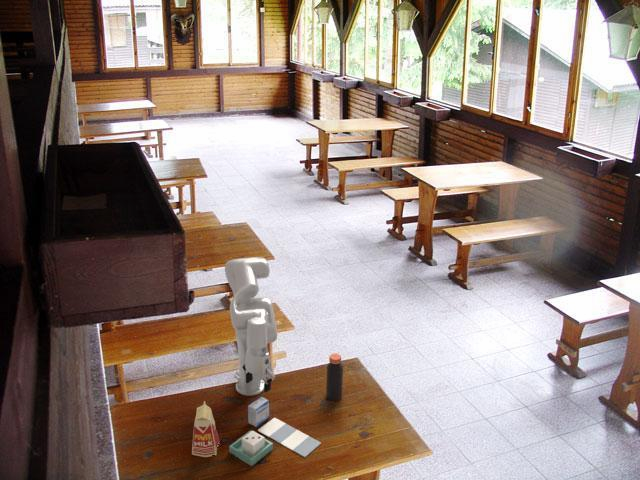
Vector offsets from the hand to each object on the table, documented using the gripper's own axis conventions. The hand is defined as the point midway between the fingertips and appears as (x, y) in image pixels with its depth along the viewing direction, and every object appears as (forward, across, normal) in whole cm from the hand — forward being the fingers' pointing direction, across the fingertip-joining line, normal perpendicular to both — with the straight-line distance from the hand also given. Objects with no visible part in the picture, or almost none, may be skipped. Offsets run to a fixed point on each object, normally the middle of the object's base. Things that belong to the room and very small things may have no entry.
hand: (258, 386), depth 251 cm
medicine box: (+17, 0, 0) cm, 17 cm away
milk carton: (+17, +4, +25) cm, 30 cm away
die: (+16, -11, +15) cm, 24 cm away
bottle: (+17, -14, -32) cm, 39 cm away
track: (+17, -16, 0) cm, 23 cm away
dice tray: (+17, -10, +15) cm, 24 cm away
